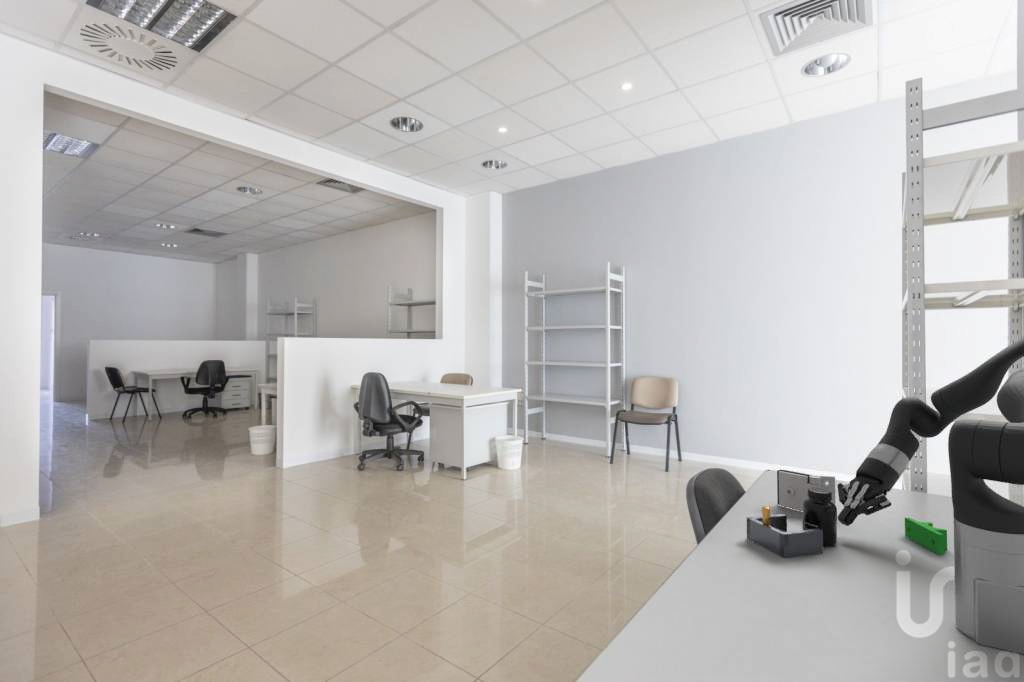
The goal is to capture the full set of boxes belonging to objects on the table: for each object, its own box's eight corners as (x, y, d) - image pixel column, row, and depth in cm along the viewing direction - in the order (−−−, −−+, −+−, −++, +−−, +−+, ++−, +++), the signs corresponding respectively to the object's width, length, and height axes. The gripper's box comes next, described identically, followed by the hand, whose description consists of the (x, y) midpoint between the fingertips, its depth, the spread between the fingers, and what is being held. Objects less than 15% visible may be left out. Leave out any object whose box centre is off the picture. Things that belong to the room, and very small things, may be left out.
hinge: (836, 513, 137) (835, 476, 137) (832, 518, 133) (832, 480, 133) (779, 503, 146) (779, 468, 146) (774, 508, 142) (774, 472, 142)
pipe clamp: (957, 556, 109) (957, 535, 109) (938, 555, 109) (938, 534, 109) (921, 536, 120) (921, 517, 120) (904, 536, 120) (904, 517, 120)
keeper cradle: (783, 534, 121) (782, 497, 121) (823, 553, 110) (822, 511, 110) (746, 538, 118) (745, 500, 119) (783, 558, 107) (782, 515, 108)
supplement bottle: (803, 544, 115) (802, 491, 115) (801, 534, 121) (801, 484, 121) (838, 549, 112) (838, 495, 112) (835, 539, 118) (835, 488, 118)
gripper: (919, 484, 116) (878, 543, 113) (866, 471, 129) (828, 523, 125) (900, 462, 115) (858, 521, 111) (849, 451, 127) (810, 504, 124)
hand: (842, 522), depth 118 cm, fingers closed
